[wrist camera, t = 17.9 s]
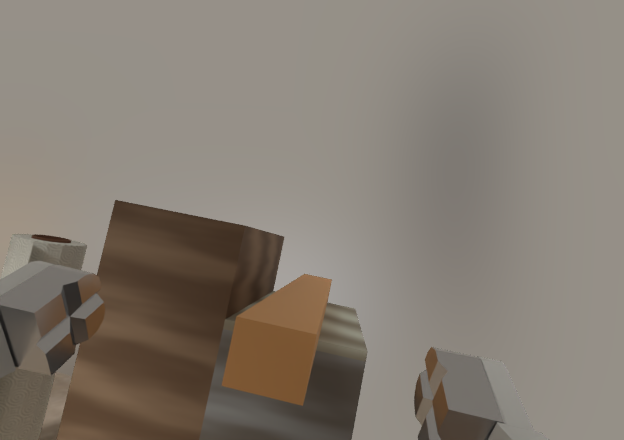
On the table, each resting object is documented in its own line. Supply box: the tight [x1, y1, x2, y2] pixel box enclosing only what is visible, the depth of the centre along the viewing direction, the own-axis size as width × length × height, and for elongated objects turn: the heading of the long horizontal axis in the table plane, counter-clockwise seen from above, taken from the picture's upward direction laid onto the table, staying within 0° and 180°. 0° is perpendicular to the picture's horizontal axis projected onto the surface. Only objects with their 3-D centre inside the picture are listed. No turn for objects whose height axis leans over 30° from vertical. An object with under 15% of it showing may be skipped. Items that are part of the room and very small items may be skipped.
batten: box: [222, 274, 332, 406], centre depth 25 cm, size 25×3×2 cm, turn 175°
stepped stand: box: [57, 200, 367, 440], centre depth 29 cm, size 16×18×26 cm
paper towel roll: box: [0, 234, 87, 440], centre depth 33 cm, size 7×6×21 cm
